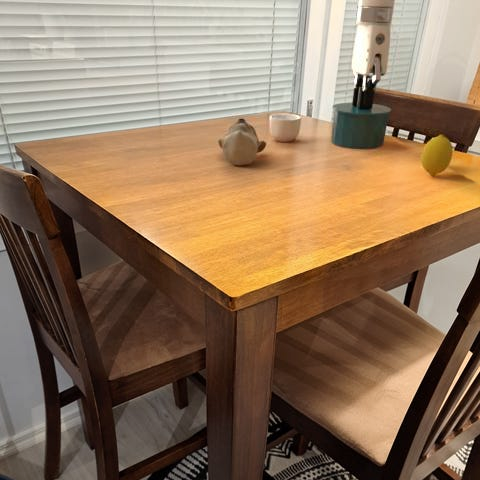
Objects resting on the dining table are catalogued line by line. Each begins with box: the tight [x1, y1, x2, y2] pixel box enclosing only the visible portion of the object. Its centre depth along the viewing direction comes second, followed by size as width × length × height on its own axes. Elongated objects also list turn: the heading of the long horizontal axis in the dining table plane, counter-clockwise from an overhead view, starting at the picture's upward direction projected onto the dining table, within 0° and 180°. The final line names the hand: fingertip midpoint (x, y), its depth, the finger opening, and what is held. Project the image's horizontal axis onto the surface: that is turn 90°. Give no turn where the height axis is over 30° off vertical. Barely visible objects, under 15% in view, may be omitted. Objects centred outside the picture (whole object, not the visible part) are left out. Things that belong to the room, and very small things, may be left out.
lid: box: [332, 86, 392, 116], centre depth 116 cm, size 14×14×6 cm
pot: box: [330, 110, 389, 150], centre depth 120 cm, size 13×13×8 cm
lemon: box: [421, 134, 453, 177], centre depth 97 cm, size 6×6×8 cm
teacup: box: [268, 113, 302, 143], centre depth 123 cm, size 10×8×5 cm
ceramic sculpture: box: [217, 117, 267, 167], centre depth 106 cm, size 11×9×15 cm
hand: (361, 106), depth 117 cm, fingers open, 3 cm apart
